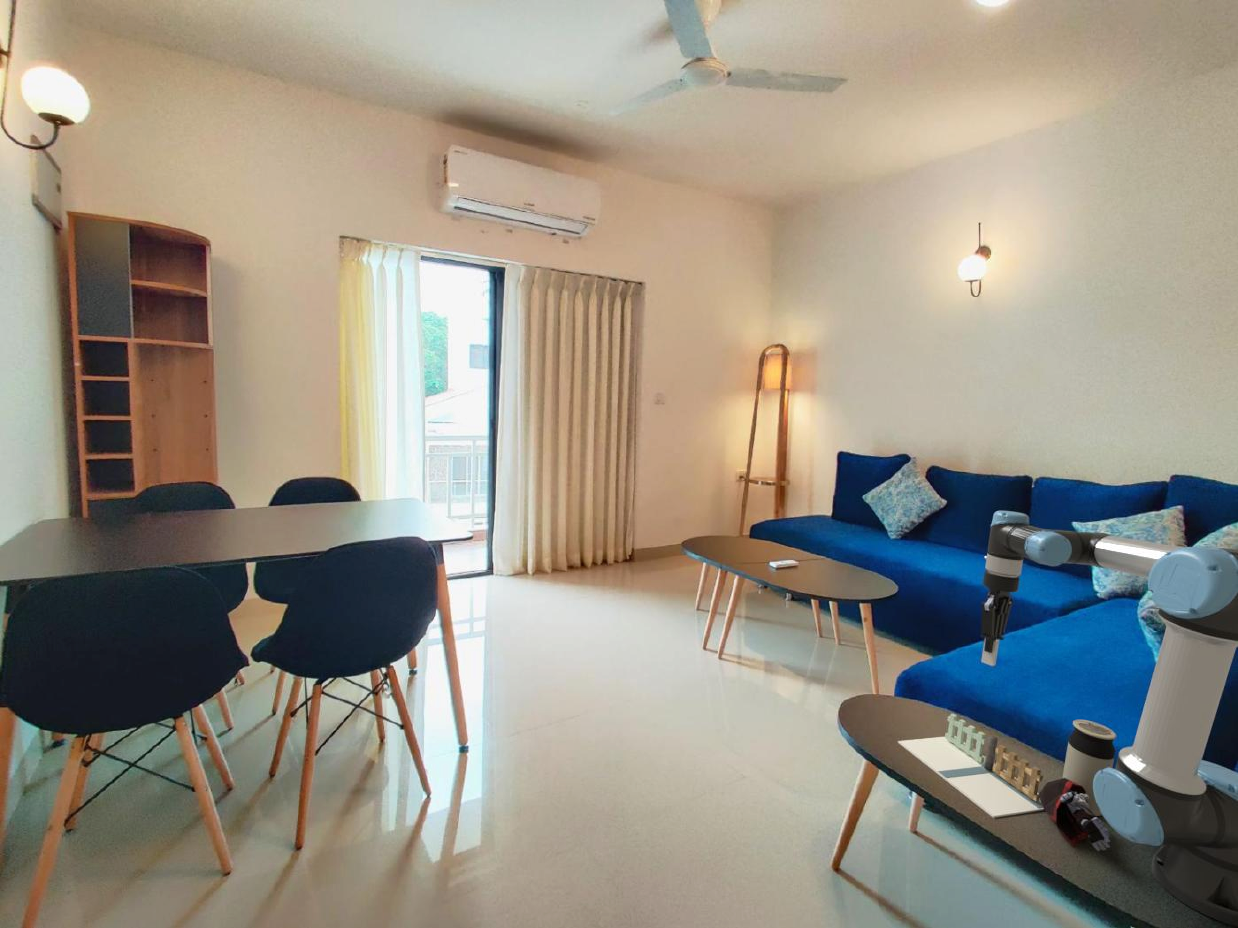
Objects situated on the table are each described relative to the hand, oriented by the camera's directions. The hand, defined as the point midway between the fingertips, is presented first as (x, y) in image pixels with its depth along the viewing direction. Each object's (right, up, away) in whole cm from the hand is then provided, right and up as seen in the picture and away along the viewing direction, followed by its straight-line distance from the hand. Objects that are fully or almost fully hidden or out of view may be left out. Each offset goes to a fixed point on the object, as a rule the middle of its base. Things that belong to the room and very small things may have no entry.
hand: (988, 663), depth 151 cm
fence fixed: (-4, -24, -14) cm, 28 cm away
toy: (-1, -26, -28) cm, 38 cm away
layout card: (-10, -23, -10) cm, 27 cm away
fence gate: (-7, -21, -1) cm, 23 cm away
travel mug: (+9, -25, -19) cm, 33 cm away
